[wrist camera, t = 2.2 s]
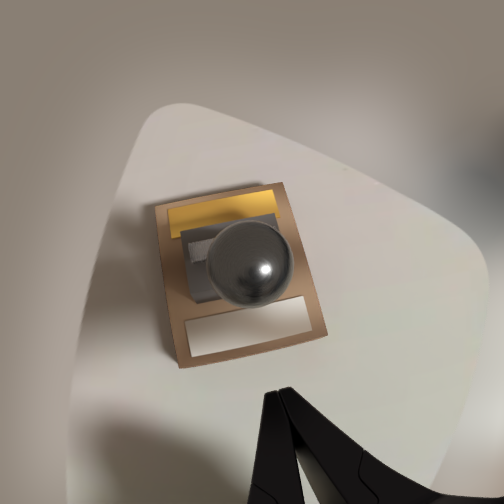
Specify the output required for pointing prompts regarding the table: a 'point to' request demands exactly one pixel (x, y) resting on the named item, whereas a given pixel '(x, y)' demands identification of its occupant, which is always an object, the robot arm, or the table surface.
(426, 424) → the table surface
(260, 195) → the switch unit
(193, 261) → the lever
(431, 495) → the robot arm
